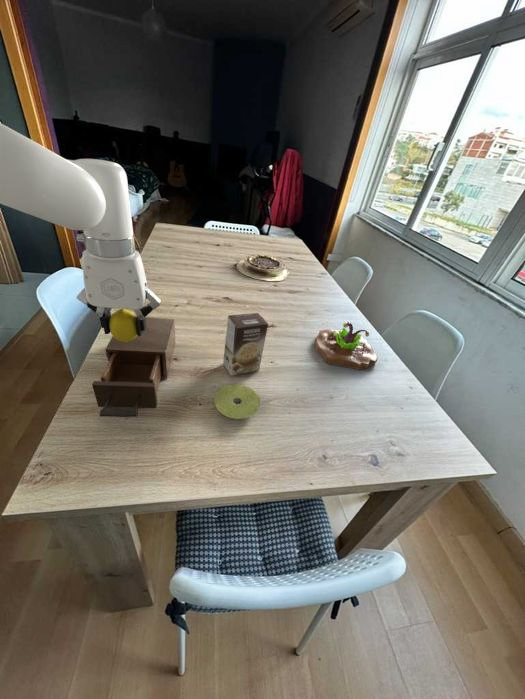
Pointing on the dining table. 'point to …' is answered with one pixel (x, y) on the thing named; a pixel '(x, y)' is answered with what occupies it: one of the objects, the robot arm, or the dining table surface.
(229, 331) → the coffee box
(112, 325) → the lemon
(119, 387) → the drawer
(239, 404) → the green disc
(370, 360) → the plant
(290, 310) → the dining table surface
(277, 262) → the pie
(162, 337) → the cabinet
